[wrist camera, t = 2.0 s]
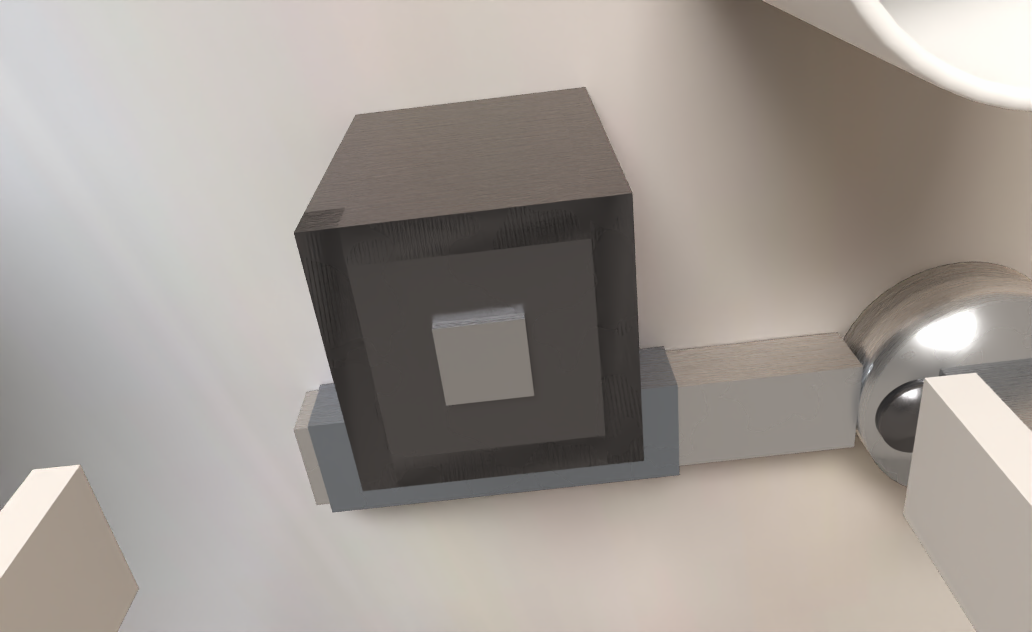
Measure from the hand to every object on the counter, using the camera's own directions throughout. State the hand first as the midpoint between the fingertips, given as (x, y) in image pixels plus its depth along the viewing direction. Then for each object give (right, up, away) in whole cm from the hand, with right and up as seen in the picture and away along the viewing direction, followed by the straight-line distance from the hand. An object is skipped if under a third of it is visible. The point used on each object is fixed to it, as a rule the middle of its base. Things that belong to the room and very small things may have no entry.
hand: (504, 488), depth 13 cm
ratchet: (+6, 0, +14) cm, 15 cm away
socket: (-1, +6, +10) cm, 12 cm away
